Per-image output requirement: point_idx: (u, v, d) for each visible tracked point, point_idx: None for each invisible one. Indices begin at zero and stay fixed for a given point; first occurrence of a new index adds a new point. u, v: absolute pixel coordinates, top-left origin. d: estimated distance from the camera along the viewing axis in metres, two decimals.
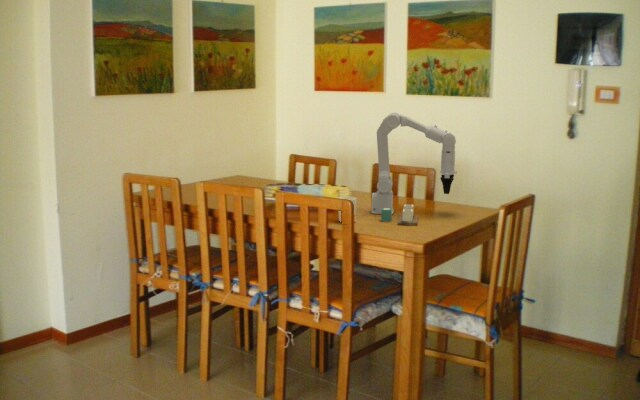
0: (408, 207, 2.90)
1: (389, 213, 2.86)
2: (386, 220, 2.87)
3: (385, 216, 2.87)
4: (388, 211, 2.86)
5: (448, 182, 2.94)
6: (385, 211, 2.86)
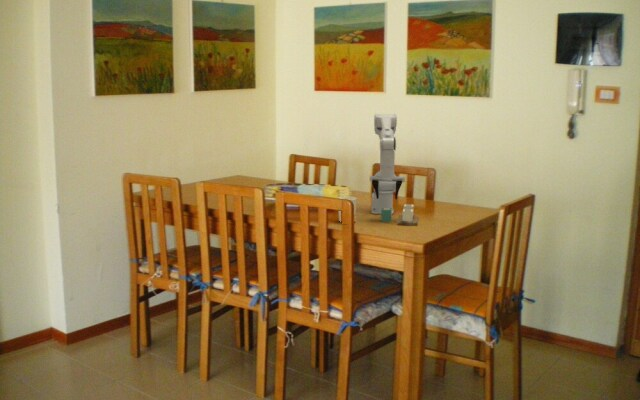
0: (408, 207, 2.90)
1: (389, 213, 2.86)
2: (386, 220, 2.87)
3: (385, 216, 2.87)
4: (388, 211, 2.86)
5: None
6: (385, 211, 2.86)
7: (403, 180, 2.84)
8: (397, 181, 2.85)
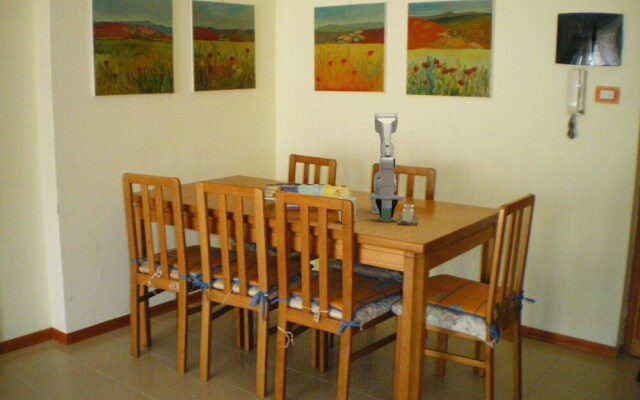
0: (408, 207, 2.90)
1: (389, 213, 2.86)
2: (386, 220, 2.87)
3: (385, 216, 2.87)
4: (388, 211, 2.86)
5: None
6: (385, 211, 2.86)
7: (403, 199, 2.86)
8: (397, 200, 2.86)
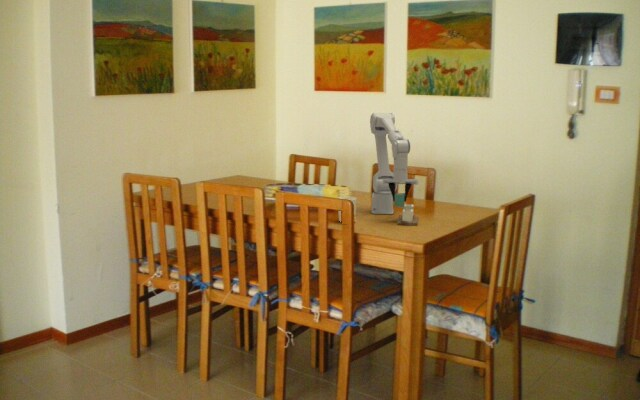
0: (408, 207, 2.90)
1: (402, 198, 2.84)
2: (399, 205, 2.85)
3: (398, 201, 2.85)
4: (401, 196, 2.84)
5: None
6: (398, 196, 2.84)
7: (416, 183, 2.83)
8: (410, 184, 2.84)
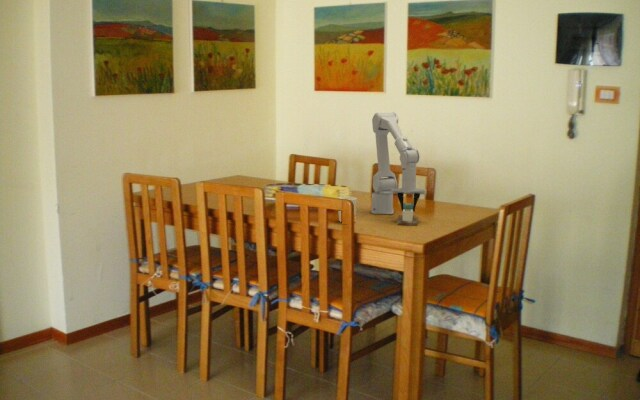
0: None
1: (411, 208, 2.84)
2: None
3: None
4: (410, 206, 2.84)
5: None
6: (407, 206, 2.84)
7: (425, 193, 2.84)
8: (419, 194, 2.84)
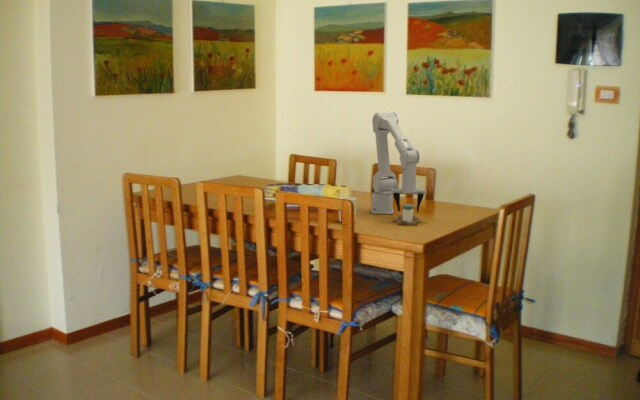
0: None
1: None
2: None
3: None
4: (410, 207, 2.84)
5: None
6: (407, 207, 2.84)
7: (425, 193, 2.84)
8: (419, 194, 2.84)
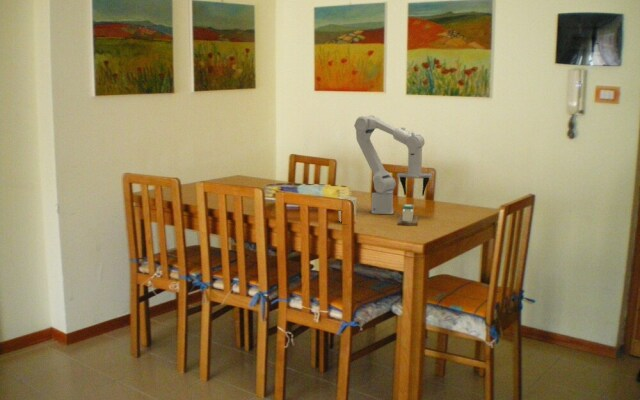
0: None
1: None
2: None
3: None
4: (410, 207, 2.84)
5: None
6: (407, 207, 2.84)
7: (430, 177, 2.93)
8: (424, 178, 2.94)
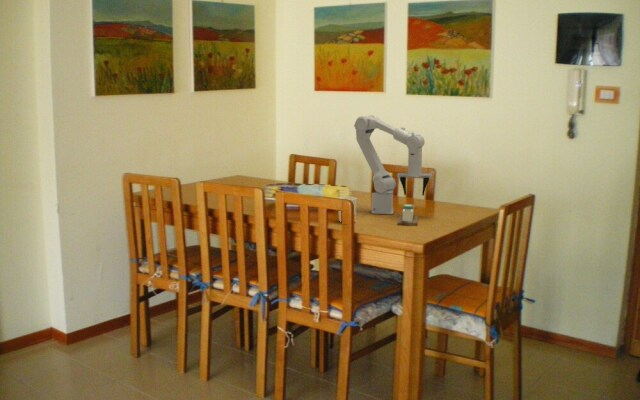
0: None
1: None
2: None
3: None
4: (410, 207, 2.84)
5: None
6: (407, 207, 2.84)
7: (430, 177, 2.93)
8: (424, 178, 2.94)
